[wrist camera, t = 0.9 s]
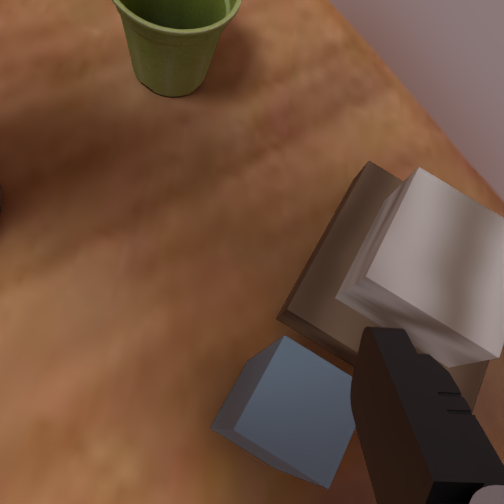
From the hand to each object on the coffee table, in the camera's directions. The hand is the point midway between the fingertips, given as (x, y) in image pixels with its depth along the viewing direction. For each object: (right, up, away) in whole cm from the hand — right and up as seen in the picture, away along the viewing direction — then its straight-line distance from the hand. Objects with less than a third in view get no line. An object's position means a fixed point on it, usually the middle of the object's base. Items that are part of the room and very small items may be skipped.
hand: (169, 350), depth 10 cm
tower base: (+13, -1, +26) cm, 29 cm away
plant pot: (-5, +18, +30) cm, 35 cm away
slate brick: (+2, -9, +21) cm, 23 cm away
